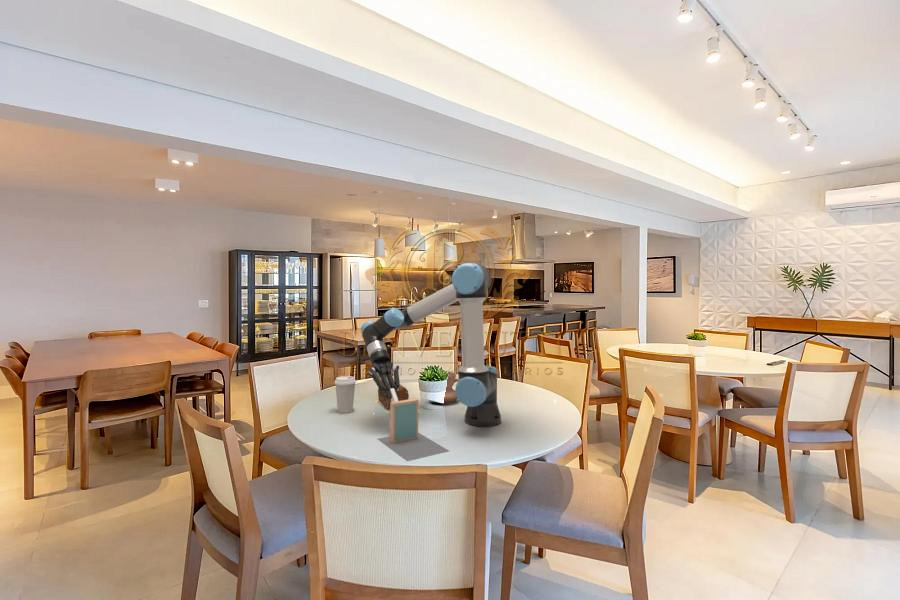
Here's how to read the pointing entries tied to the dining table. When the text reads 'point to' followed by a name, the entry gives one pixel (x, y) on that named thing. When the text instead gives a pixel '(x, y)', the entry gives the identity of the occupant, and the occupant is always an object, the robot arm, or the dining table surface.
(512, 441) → the dining table surface
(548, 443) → the dining table surface
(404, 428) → the tile
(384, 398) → the bread
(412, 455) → the mat
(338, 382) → the coffee cup
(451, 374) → the ceramic jug
